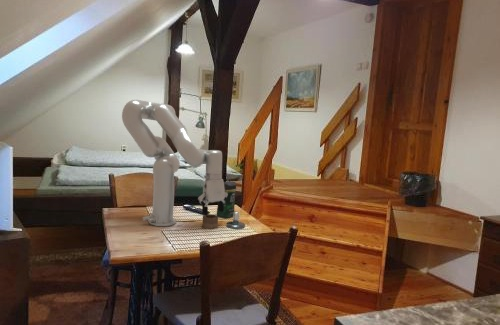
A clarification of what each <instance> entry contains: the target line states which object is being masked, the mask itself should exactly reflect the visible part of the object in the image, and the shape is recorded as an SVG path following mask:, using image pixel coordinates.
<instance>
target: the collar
mask: <svg viewBox="0 0 500 325" xmlns="http://www.w3.org/2000/svg"><path fill="white" fill-rule="evenodd" d="M218 225H219V216H217V214H209V213H208V215H204V214H202V224H201V228H203V229H206V230H215V229H218V227H219V226H218Z"/></svg>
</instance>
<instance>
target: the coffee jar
mask: <svg viewBox="0 0 500 325" xmlns="http://www.w3.org/2000/svg"><path fill="white" fill-rule="evenodd" d="M223 182H224V189H225V192H226V193H228V195H227V199H226V200H225V203H224V211H223V212H221V211H218V206H217V207H216V208H217V210H216V215H217V216H218V218H222V219H223V218H226V219H228V218H231V217H232V218H233V214H234V211H235V199H236V198H235V197H236V191H237V183H236V182H235V181H232V180H228V181H227V180H226V181H223ZM218 203H219V201H217V204H218Z"/></svg>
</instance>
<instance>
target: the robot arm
mask: <svg viewBox="0 0 500 325" xmlns="http://www.w3.org/2000/svg"><path fill="white" fill-rule="evenodd" d="M121 119H122V123H123V125H124V127H125V129H126V130H127V132H128V133H129V134H130V136H131V137H132V138H133V140H134V142H135V143H136V144H137V146H138V147H139V149H140V150H141V151H142V153H143V154H144V155H145V156H146V157H148V158H154V160H155V161H154V162H153V165H152V166H153V167H152V177H153V195H152V199H153V200H152V212H151V213H150V215H148V216H147V215H146V216H142V220H143V222H146V221H148V224H149V225H151V226H154V227H155V226H156V227H170V226H174V225H175V224H177V220H176V218H174V207H175V206H174V205H175V203H174V202H175V173H176V172H178V171H179V169H180V166H181V163H180V160H179V158H178V156H177V155H176V153H175V152H174V151H173V149H172V148H171V146H170V145H169V144H168V142H167V141H166V140H165V139H164V138H163V137H160V136H157V135H155V134H154V133H153V132H152V131H151V129H150V127H149V126H148V125H147V124H146V122H145V121H144V120H151V121H155V122H157V124H158V125H159V127H160V128H162V129H163V131H164V132H165V133H166V135H167V136H168V137H169V138H170V140H171V142H172V144H173V146H174V147H175V150H177V152H178V154H180V156H181V157H182V159H183V160H184V161H185V162H186V163H187V164H188V165H189V166H190V167H193V168H197V167H200V166H203V165H205V175H204V176H203V178H204V179H205V180H204V181H203V188H202V194H201V195H200V196H198V197H197V200H198V202H199V204H200V206H201V207H202V208H201V212H202V215H208V214H209V206H208V205H209V204H210V203H216V202H217V207H218V211H221V212H223V211H224V203H225V200H226V199H227V195H228V193H226V192H225V189H224V182H225V181H224V179H223V152H222V150H219V149H218V150H217V149H210V150H207V149H202V148H197V147H196V146H195V144H193V142H192V140H191V139H190V137H189V135H188V130H187V128H186V126H185V125H184V124H183V122H182V121H181V120H180V119H179V117H178V116H177V115H176V111H175V108H174V107H173V106H172V105H170V104H167V103H159V102H158V103H157V102H152V101H147V100H140V99H132V100H130V101H128V102H126V104H125V105H124V106H123V109H122V113H121ZM218 201H219V203H218Z"/></svg>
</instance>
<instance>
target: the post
mask: <svg viewBox="0 0 500 325" xmlns="http://www.w3.org/2000/svg"><path fill="white" fill-rule="evenodd" d="M225 226H226V228H228V229H233V230H243V229H245V227H246V224H245V223H243V222H241V221H240V211H237V210H236V211H235V210H234V214H233V216H232V221H228V222H226V225H225Z"/></svg>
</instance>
